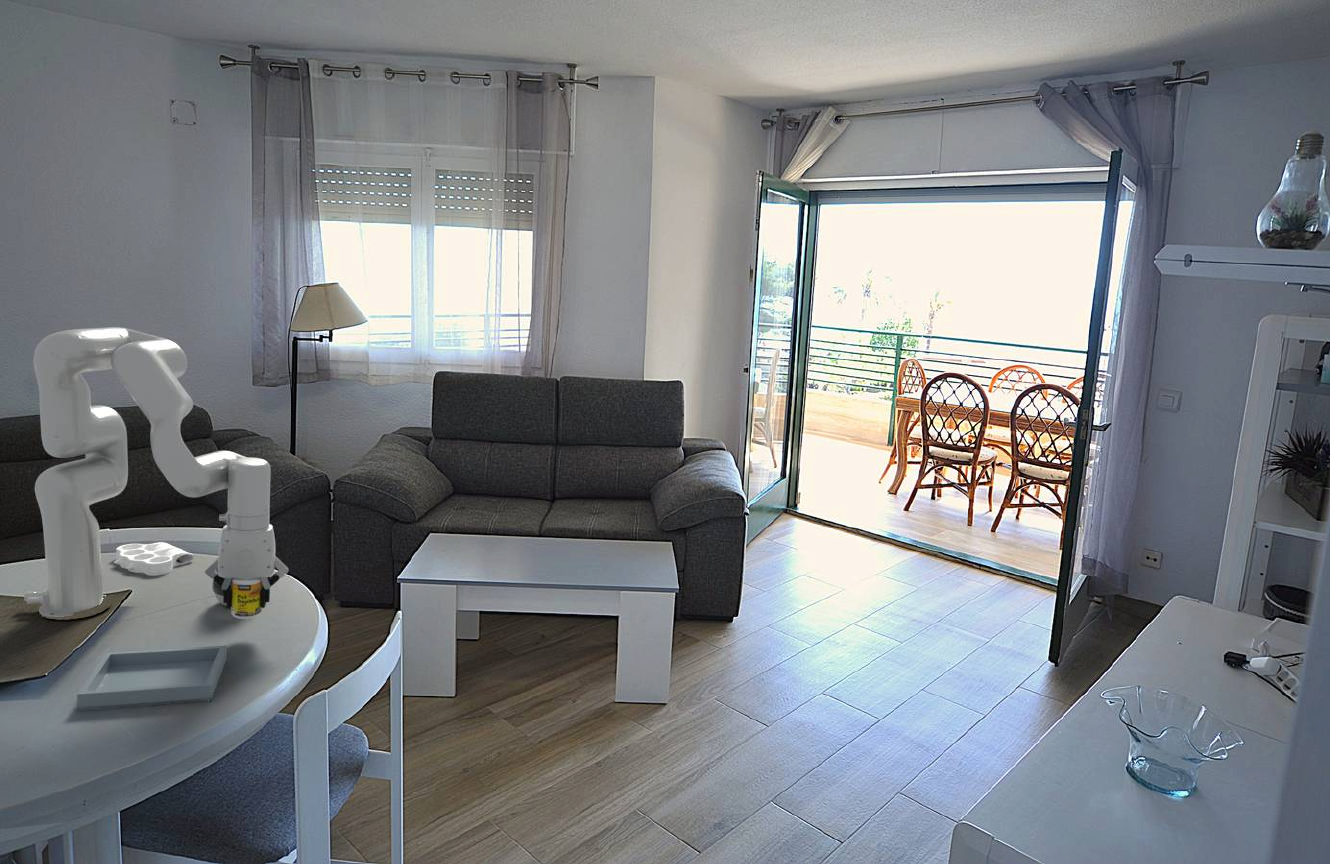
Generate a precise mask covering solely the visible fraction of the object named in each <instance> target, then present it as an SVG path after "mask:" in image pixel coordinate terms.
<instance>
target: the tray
mask: <svg viewBox="0 0 1330 864" xmlns="http://www.w3.org/2000/svg"><path fill="white" fill-rule="evenodd" d="M227 648H228V647H227V645H215V646H213V645H212V646H195V647H177V648H162V649H144V650H143V649H141V650H125V651H124V650H123V651H109V652H108V651H107V652H105V653H104V654H103V655H102V657H101V658H100V660H99V662H98V663H97V665H96V666H95V668H94V669H93V671H92V672H91V673H90V674H89V677H87V679H86V680H85V682H84V683H83V685H82V686H81V688H80V689H79V690H78V692H77V694H76V695H77V699H76V701H77V711H78V712H83V711H84V712H85V711H96V710H111V709H112V710H113V709H125V708H137V707H148V706H149V707H151V706H161V705H163V704H164V705H165V704H166V705H172V704H171V703H179V704H182V703H181V702H192V703H197V702H196V701H206V702H209V701H208V700H213V698H214V696H213V695H215V693H214V692H216V690H215V689H217V687H218V685H217V684H219V682H220V680H221V676H222V674H223V671H224V669H225V666H226V663H227V658H228V657H227V656H228V655H227V654H228V653H227V652H228V651H227ZM218 681H219V682H218ZM212 697H213V698H212ZM164 705H163V706H164Z"/></svg>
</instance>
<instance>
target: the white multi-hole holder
mask: <svg viewBox="0 0 1330 864" xmlns="http://www.w3.org/2000/svg"><path fill="white" fill-rule="evenodd" d="M115 553H116V554H115V555H116V557H115V561H113V562H112V564H116V565H119V566H120V568H121V569H126V570H128V572H131V573H137V574H138V573H139V574H145V575H147V576H150V577H151V576H155V577H156V576H162V575H166V574H169V573H171V572H172V571H173V568H175V567H178V566H182V565H187V564H189V563H191V562H192V561H193V560H194V559H195V556H194V554H193V553H190V552H187V551H185V550H183V549H182V548H178V547H176V546H174V545H171V544H170V543H167V542H164V541H163V542H162V541H161V542H154V543H148V544H146V543H145V544H143V543H129V544H123V545H120V546H118V547H117V548H116V549H115ZM177 560H178V561H177ZM179 561H180V562H179Z"/></svg>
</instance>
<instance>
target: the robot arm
mask: <svg viewBox="0 0 1330 864" xmlns="http://www.w3.org/2000/svg"><path fill="white" fill-rule="evenodd" d="M33 368H34V372H35V377H36V381H37V386H38V394H39V414H40V415H39V416H40V432H41V433H40V436H41V441H42V446H43V448H44V451H45V452H46V453H47V454H48V455H50V456H51V457H53V458H60V459H61V458H62V459H64V458H65V459H67V458H74V457H77V456H78V457H79V456H82V455H85V458H82V459H76V460H73V461H68V462H64V463H60V464H57V465H54V466H51V467H49V468H47V469H46V470H44V471H43V472H42V473H40V474H39V476H38V477H37V479H36V481H35V484H34V493H35V498H36V501H37V503H38V507H39V510H40V514H41V519H42V520H41V521H42V528H43V530H42V531H43V542H44V556H45V558H44V559H45V573H46V574H45V575H46V589H42V591H35V590H34V591H33V590H32V591H25V592H24V595H23V600H24V601H25V602H26V604H27V605H35V604H40V605H41V606H40V607H39V608H38V611H39V613H40V614H41V615H43V616H47V617H64V616H71V615H73V613H74V612H79V611H83V610H87V609H90V608H93V607H95V606H97V605H100V604H101V603H102V601H103V599H104V598H103V596H105V597H106V596H107V595H106V594H103V579H102V578H103V577H102V575H103V574H102V557H101V555H102V554H101V553H102V551H101V535H100V533H101V532H100V526H99V522H98V520H97V518H96V517H95V515H94V514H93V512H92V511H91V509H90V506H91V505H93V504H96V503H98V502H102V501H105V500H109V499H111V498H114V497H116V496H119V495H120V494H122V492H123V491H124V489H125V488H126V486H127V483H128V477H129V465H128V463H129V462H128V436H127V435H128V433H127V432H128V431H127V428H126V424H125V421H124V420H123V418H122V416H121V414H119V412H117V411H116V410H115V409H114V408H112V407H109V406H106V405H92V399H91V398H92V396H91V395H92V394H91V389H90V387H89V384H88V381H86V379H85V377H84V376H83V375H82V373H87V372H96V371H97V372H99V371H108V370H113V372H114V374H115V375H116V377H117V379H119V381H120V383H121V384H122V385H123V387H124V388H125V389H126V390H127V392H128V393H129V395H130V396H131V398H132V399H133V400H134V402H135V403H136V405H137V406H138V408H139V409H140V410H141V411H142V413H143V414H144V416H145V417H146V419H147V420H148V421H149V423H150V436H149V440H150V447H151V452H152V457H153V460H154V462H155V464H156V466H157V468H158V469H159V470H160V472H161V473H162V474H163V475H164V477H165V478H166V480H167V481H168V482H169V484H170V485H171V487H173V489H174V490H176V491H177V492H178V493H179V494H181V495H183V496H185V497H188V498H200V497H203V496H207V495H209V494H213V493H215V492H218V491H223V490H226V489H227V512H226V513H222V514H219V517H218V521H219V522H224V523H225V525H224V526H223V528H222V530H221V533H220V538H219V546H218V547H219V548H218V557H217V558H216V559H215V560H214V561H213V562H211V564H210V565H208V567H206V569H205V571H204V574H206V575H207V576H208V577H209V578H210V579H212V580H213V579H214V581H215V582H216V583H217V584H219V585H220V586H221V587H222V589H223V603H227V604H226V606H225V607H226V610H228V609H231V598H232V583H231V580H232V578H260V579H261V581H262V584H263V586H262V589H261V607H262V609H265V608H266V604H267V603H270V597H271V595H270V593H271V587H272V586H273V585H274V584H276V583H277V582H278V581H279V580H280V579H282V578H283V577H284V576H285V575H287V574H288V573H289V567H288V566H287V565H286V564H285V563H283V562H282V560H281V559H280V558H278V557H277V555H276V554H277V553H276V539H275V532H274V526H273V525H272V524H271V523H270V513H271V512H270V508H271V505H270V503H271V502H270V501H271V475H272V474H271V471H272V470H271V465H270V463H269V462H268V461H267V460H265V459H263V458H260V457H247V456H244V455H241V454H239V453H236V452H233V451H231V450H217V451H213V452H211V453H206V454H201V455H198V456H194V455H193V453H192V452H191V450H190V449H189V448H188V447H187V445H186V444H185V442H184V440H183V437H182V434H181V426H182V425H181V424H182V421H183V419H184V418H185V417H186V416H187V415H189V413H190V412H191V411H192V409H193V408H194V401H193V399H192V397H191V396H190V395H189V393H188V391H186V389H185V388H184V387H183V386H182V384H181V383H180V381H179V380H178V379H179V378H180V377H182V376H183V375H184V374H185V373H186V371H187V369H188V359H187V356H186V354H185V351H184V350H183V349H182V348H181V347H180V345H178V344H177V343H176V342H174V341H172V340H170V339H167V338H164V337H162V336H161V337H159V336H157V335H153V334H148V333H145V332H142V331H138V330H135V329H130V328H126V327H118V326H116V327H115V326H113V327H111V326H109V327H96V328H92V327H91V328H78V329H77V328H75V329H68V330H62V331H57V332H54V333H51V334H48V335H47V336H45V337H44V338H42V340H41V341H40V342H39V343H38V344H37V346H36V348H35V350H34V353H33ZM217 568H218V572H217V571H216V569H217ZM275 569H277V570H278V571H276V572H275ZM274 572H275V573H274ZM39 613H38V614H39ZM40 614H39V615H40Z"/></svg>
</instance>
